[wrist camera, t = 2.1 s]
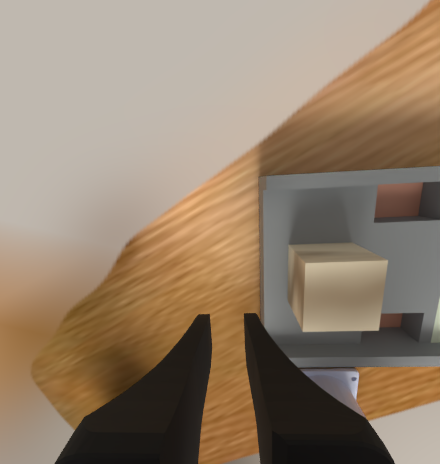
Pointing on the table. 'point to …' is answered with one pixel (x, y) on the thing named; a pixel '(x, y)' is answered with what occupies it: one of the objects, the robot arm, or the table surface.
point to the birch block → (335, 287)
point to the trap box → (370, 238)
